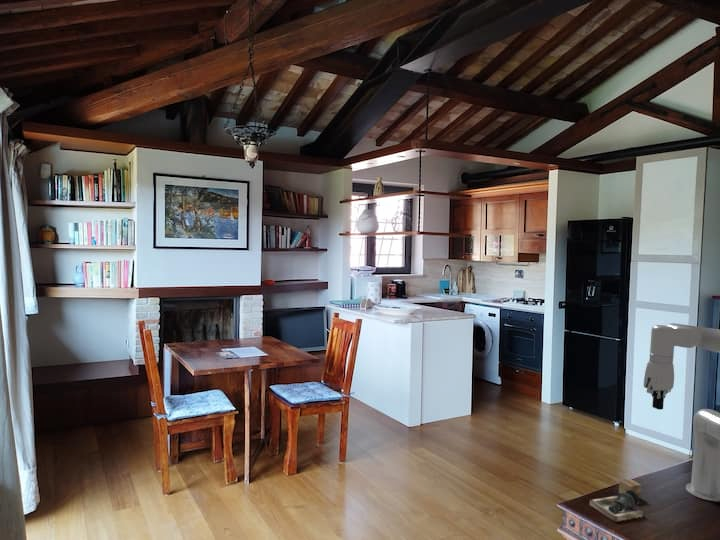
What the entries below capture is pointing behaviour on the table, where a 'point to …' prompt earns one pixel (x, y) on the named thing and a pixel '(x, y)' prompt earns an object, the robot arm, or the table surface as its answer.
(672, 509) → the table surface
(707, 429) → the robot arm
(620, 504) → the grey chess piece
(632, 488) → the oak block
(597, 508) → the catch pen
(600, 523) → the table surface
